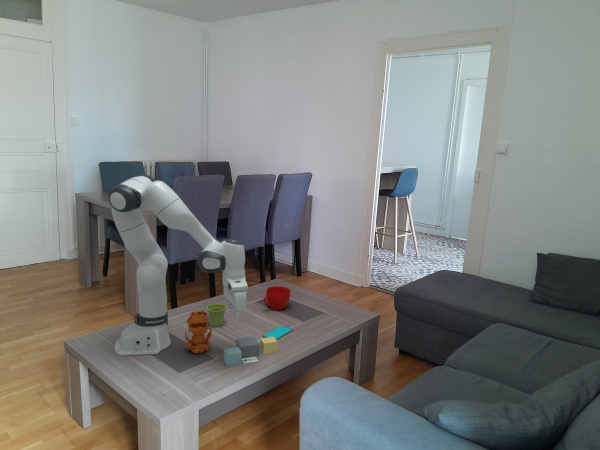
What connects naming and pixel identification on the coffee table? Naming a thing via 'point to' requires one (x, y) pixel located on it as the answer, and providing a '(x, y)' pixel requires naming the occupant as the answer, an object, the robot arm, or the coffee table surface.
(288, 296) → the ceramic cup
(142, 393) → the coffee table surface
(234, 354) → the brick teal
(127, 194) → the robot arm
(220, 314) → the plant pot
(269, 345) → the brick mustard
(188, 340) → the orange figurine
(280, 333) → the smartphone
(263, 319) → the coffee table surface
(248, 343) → the tower base
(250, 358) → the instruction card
